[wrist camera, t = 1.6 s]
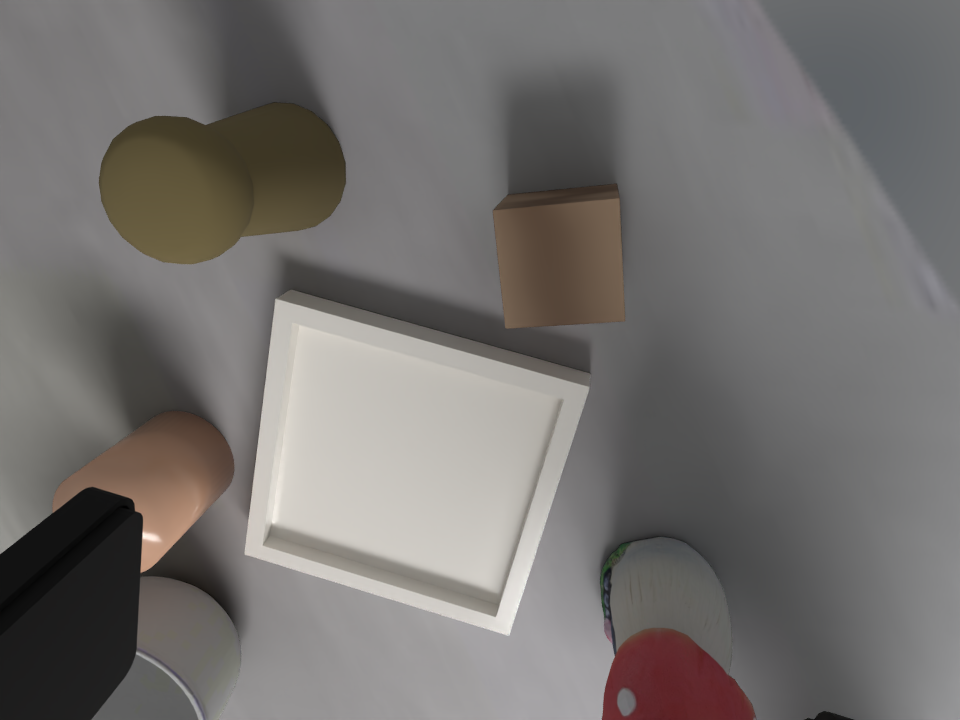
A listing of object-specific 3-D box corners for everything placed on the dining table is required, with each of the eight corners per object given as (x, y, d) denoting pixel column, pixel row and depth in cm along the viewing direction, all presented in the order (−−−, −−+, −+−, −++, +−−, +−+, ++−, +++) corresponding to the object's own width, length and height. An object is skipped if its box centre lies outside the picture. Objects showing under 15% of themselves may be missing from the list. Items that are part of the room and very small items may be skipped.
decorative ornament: (604, 505, 37) (607, 748, 23) (731, 515, 36) (813, 775, 22) (595, 641, 40) (593, 925, 26) (711, 654, 39) (772, 956, 25)
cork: (355, 225, 34) (250, 279, 24) (243, 235, 35) (96, 290, 25) (334, 95, 32) (209, 92, 22) (215, 109, 33) (43, 113, 23)
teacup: (109, 532, 43) (9, 621, 36) (270, 576, 43) (201, 675, 35) (114, 692, 49) (27, 797, 41) (257, 733, 48) (195, 849, 40)
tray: (590, 373, 34) (590, 387, 33) (512, 613, 40) (508, 635, 39) (290, 289, 35) (275, 298, 34) (258, 536, 42) (244, 554, 40)
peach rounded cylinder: (239, 427, 39) (167, 492, 33) (229, 512, 41) (161, 589, 35) (141, 398, 39) (51, 457, 33) (137, 484, 42) (53, 555, 35)
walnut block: (616, 183, 31) (619, 198, 27) (621, 290, 33) (625, 321, 28) (508, 194, 32) (492, 210, 27) (518, 297, 34) (505, 328, 29)
